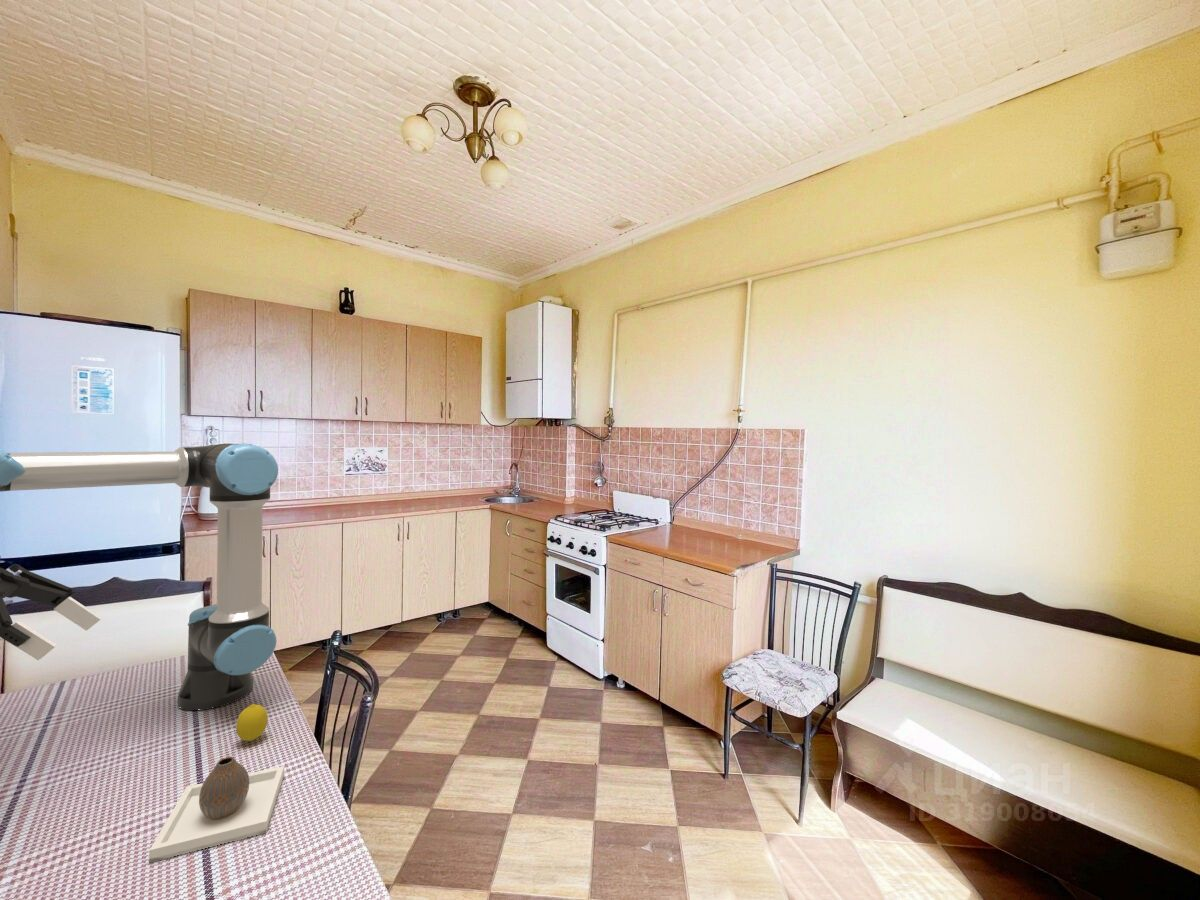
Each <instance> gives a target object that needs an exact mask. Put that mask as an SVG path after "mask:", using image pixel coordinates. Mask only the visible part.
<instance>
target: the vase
mask: <svg viewBox="0 0 1200 900" xmlns="http://www.w3.org/2000/svg"><path fill="white" fill-rule="evenodd" d="M202 783H203V785H202V787H201V790H200V794H199V806H200V810H201V812H202V813H203V815H204V816H206V817H207V818H210V819H215V820H216V819H222V818H225V817H227V816H229V815H231V814H233V813H234V812H235V811H236V810H237V809H238V808H239V807H240V806H241V805H242V803H243V802H244V800H245V798H246V796H247V794H248V790H249V775H248V771H247V769H246V768H245V767H244V766H243V765H242V764H241V763H239V762H238V761H237V760H236V759H235V757H233V756H226V757H224V758H221V759H219V760H218V761H217V762H216V764H215V766H214V768H213V769H212V771H210V773H209V774H208V776H207V777H206V778H205V780H204V781H203V782H202Z"/></svg>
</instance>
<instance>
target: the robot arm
mask: <svg viewBox="0 0 1200 900" xmlns="http://www.w3.org/2000/svg"><path fill="white" fill-rule="evenodd" d="M278 466H279V465H278V462H277V460H276V459H275V457H274V455H273V454H272V453H271V452H269V451H268V450H267V449H265V448H263V447H262V446H258V445H256V444H252V443H244V442H243V443H242V442H241V443H219V444H210V445H204V446H201V445H200V446H189V447H188V446H187V447H185V446H184V447H182V446H181V447H178V448H177V449H175V450H174V451H99V452H97V451H96V452H95V451H90V452H89V451H85V452H84V451H79V452H75V451H73V452H68V451H67V452H65V451H64V452H7V451H5V450H4V449H1V448H0V492H10V491H11V492H12V491H29V490H30V491H34V490H37V491H38V490H54V489H77V488H79V489H80V488H97V487H98V488H99V487H101V488H103V487H119V486H122V487H123V486H124V487H125V486H140V485H145V486H146V485H162V484H176V485H177V486H179V487H180V488H185V487H197V488H198V487H201V488H209V503H211V504H212V505H213V506H214V507H216V509H217V548H216V549H217V551H216V552H217V554H216V555H217V557H216V558H217V559H216V561H217V562H216V564H217V565H216V568H217V571H216V572H217V573H216V575H217V576H216V579H217V580H216V604H211V605H207V606H203V607H199V608H196V609H195V610H193V611H191V613H190V614H189V617H188V623H187V626H188V631H187V632H188V635H187V636H188V637H187V638H188V639H187V640H188V641H187V642H188V643H187V670H186V674H185V676H184V679H183V682H182V683H181V687H180V688H179V692H178V693H177V704H178V705H177V707H178V706H179V707H181V708H183V709H187V710H186V711H189V710H197V711H199V710H198V709H206V710H208V709H207V708H212V707H216V708H218V707H217V706H220V707H222V706H221V705H223V706H225V705H224V704H226V705H228V704H227V703H229V704H231V703H230V702H232V703H234V702H236V701H235V700H237V699H239V698H241V697H243V696H244V695H246V694H247V693H248V692H250V691H251V692H252V690H253V689H254V676H253V675H252V672H254V671H256V670H258V669H259V668H260V667H262V666H263V665H265V663H266V662H267V661H268V660H269V659H270V658H271V657H272V655H273V654H274V651H275V649H276V646H277V636H276V633H275V632H274V629H273V628H271V627H270V607H268V606H267V605H266V604H265V603H263V602H262V601H263V600H262V595H263V593H262V592H263V591H262V587H263V585H262V584H263V508H264V505H265V504H266V503H267V502H269V500H270V499H271V487H272V486H273V485H274V483H275V482H276V480H277V479H278V475H279V467H278ZM0 559H1V556H0ZM75 593H76V591H75V590H74V589H73V588H72V587H69V586H67V585H65V584H62V583H60V582H56V581H55V580H52V579H50V578H47V577H45V576H43V575H40V574H37V573H35V572H32V571H30V570H28V569H26V568H24V567H23V566H22V565H20V564H17V563H14V564H12V565H10V566H9V567H8V568H6V569H5V568H2V567H0V638H1V639H2V640H4V641H6V642H7V643H9V644H11V645H13V646H14V647H16V648H17V649H19V650H21V651H22V652H24V653H25V654H27V655H28V656H31V657H32V658H34V659H35V660H36V661H40V660H41V659H43V658H44V657H45V656H46V655H48V654H49V652H51V651H52V650H53V649H55V648H56V647H57V646H58V644H57V643H55V642H53V641H52V640H51V639H49V638H47V637H46V636H45V635H43V634H41V633H39V632H37V631H36V630H34V629H33V628H31V627H29V626H28V625H27V624H25V623H23V622H21V621H20V620H18V621H15V622H14V623H13V619H12V617H11V615H10V612H9V610H8V608H7V605H6V602H5V600H4V598H8V599H11V598H12V599H13V598H15V597H16V598H21V599H24V600H29V601H32V602H33V601H34V602H37V603H41V604H44V605H49V606H53V607H54V608H53V611H55V612H57V613H58V614H60V615H62V616H63V617H65V618H66V619H67V620H69V621H70V622H72V623H73V624H75V625H77V626H78V627H80V628H81V629H83V630H84V631H88V630H90V629H91V628H92V627H93V626H95V625H96V624H97V623H98V622H99V621H100V620H102V619H103V617H102V616H100V615H98V614H97V613H96V612H94V611H92V610H91V609H90V608H88V607H87V606H85V605H83V604H82V603H80V602H79V601H77V600H76V599H74V598H73V597H72V596H73V595H74V594H75ZM252 688H253V689H252ZM251 692H250V693H251ZM248 694H249V693H248ZM248 694H247V695H248ZM247 695H246V696H247ZM244 697H245V696H244ZM244 697H243V698H244ZM241 699H242V698H241ZM239 700H240V699H239ZM233 701H234V702H233ZM237 701H238V700H237ZM179 707H178V708H179ZM183 709H182V710H183ZM212 709H213V708H212Z"/></svg>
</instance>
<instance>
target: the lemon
mask: <svg viewBox="0 0 1200 900" xmlns="http://www.w3.org/2000/svg"><path fill="white" fill-rule="evenodd" d="M268 720H269V717H268V713H267V710H266V708H265V707H264V706H262V705H261V704H255V703H253V704H250V705H249V706H247V707H245V708H244V709H243V710H242V711H241V713H240V714H239V715H238V718H237V720H236V727H235V729H236V730H235V731H236V735H237V736H238V738H239V739H240V740H242V741H248V742H250V743H252V742H254V741H255V740H256V739H257V738H258V737H260V736H261V735H262V734H263V733H264V732H265V731H266V728H267V726H268Z"/></svg>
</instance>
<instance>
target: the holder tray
mask: <svg viewBox="0 0 1200 900" xmlns="http://www.w3.org/2000/svg"><path fill="white" fill-rule="evenodd" d="M248 775H249V790H248V794H247V796H246V798H245V800H244V802H243V803H242V805H241V806H240V807H239V808H238V809H237V810H236V811H235V812H234V813H233V814H231V815H229V816H227V817H225V818H222V819H216V820H215V819H210V818H207V817H206V816H204V815H203V813H202V812H201V810H200V806H199V794H200V790H201V787H202V785H203V783H204V782H202V783H199V784H198V783H197V784H193V785H188V786H186V787H185V788H184V790H183V793H182V794H181V795H180V797H179V799H178V800H177V803H176V804H175V806H174V808H173V809H172V811H171V813H170V814H169V816H168V818H167V819H166V821H165V823H164V824H163V826H162V828H161V829H160V831H159V833H158V835H157V836H156V838H155V840H154V842H153V844H151V847H150V848H149V850H148V851H149V852H148V853H149V854H148V856H149V857H148V858H149V859H148V864H152V863H156V862H160V861H162V860H163V859H164V860H167V859H166V858H168V859H171V858H170V857H172V858H174V857H173V856H176V857H178V856H177V855H179V854H183V855H185V854H184V853H187V854H190V853H189V852H191V853H193V852H192V851H195V852H197V851H196V850H199V851H201V849H203V850H206V849H205V848H207V849H209V848H208V847H211V848H214V847H213V846H215V847H218V846H221V845H220V844H222V845H225V844H224V843H226V844H229V843H228V842H230V843H233V842H232V841H234V842H237V840H238V841H241V839H242V840H245V839H244V838H246V839H248V838H247V837H250V838H252V837H251V836H253V837H257V836H260V834H261V835H265V834H267V831H268V828H269V825H270V822H271V818H272V816H273V813H274V809H275V807H276V803H277V799H278V796H279V793H280V790H281V787H282V784H283V780H284V777H285V765H282V766H278V767H272V768H268V769H263V770H259V771H254V772H249V773H248ZM256 835H257V836H256ZM217 845H218V846H217ZM179 856H180V855H179Z"/></svg>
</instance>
